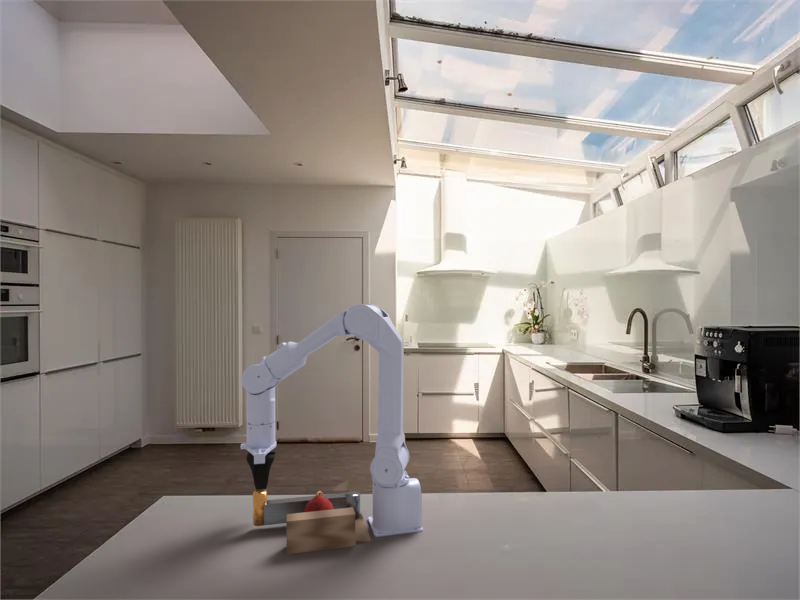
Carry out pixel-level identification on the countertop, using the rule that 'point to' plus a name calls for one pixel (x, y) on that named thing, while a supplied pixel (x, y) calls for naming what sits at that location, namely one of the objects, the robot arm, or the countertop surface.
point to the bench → (325, 530)
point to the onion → (318, 503)
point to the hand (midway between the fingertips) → (261, 488)
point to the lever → (295, 506)
